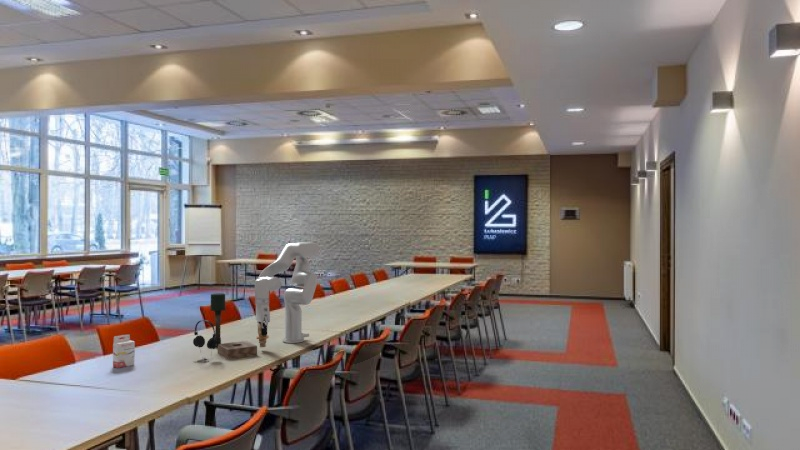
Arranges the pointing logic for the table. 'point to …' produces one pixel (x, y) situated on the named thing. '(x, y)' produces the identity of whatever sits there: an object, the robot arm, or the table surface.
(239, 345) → the socket block
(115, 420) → the table surface
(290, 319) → the robot arm
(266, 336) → the peg
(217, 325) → the stick grenade
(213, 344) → the headphones
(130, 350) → the ink cartridge box
